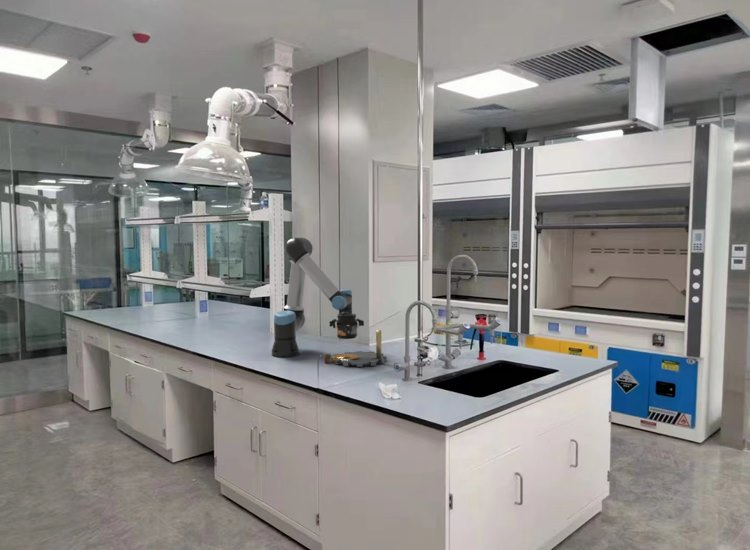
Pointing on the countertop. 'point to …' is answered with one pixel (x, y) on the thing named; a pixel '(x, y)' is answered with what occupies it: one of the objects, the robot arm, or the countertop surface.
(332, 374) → the countertop surface
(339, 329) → the supplement container
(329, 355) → the index mark
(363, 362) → the turntable
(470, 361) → the countertop surface
